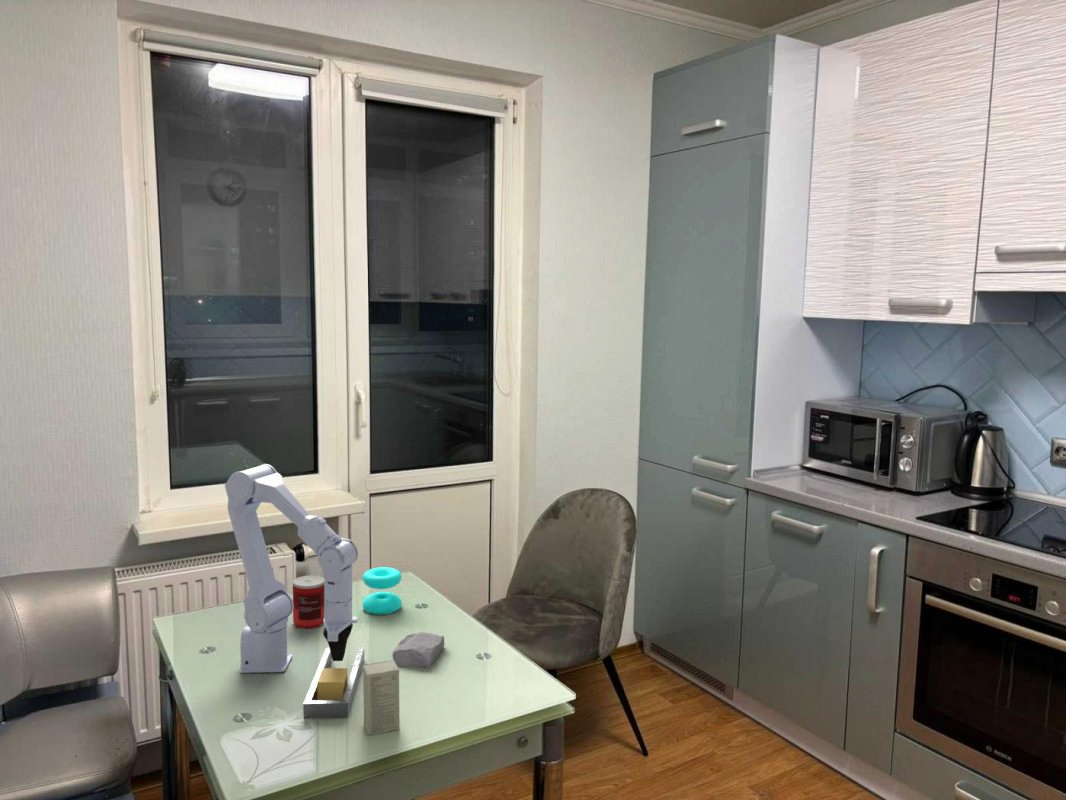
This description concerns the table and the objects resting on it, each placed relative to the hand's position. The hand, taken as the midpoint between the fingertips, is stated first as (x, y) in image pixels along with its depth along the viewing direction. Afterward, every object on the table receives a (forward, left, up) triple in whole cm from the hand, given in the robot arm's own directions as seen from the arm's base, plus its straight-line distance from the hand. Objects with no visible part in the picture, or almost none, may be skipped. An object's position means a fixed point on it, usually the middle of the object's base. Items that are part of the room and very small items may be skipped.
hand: (338, 659), depth 170 cm
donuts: (+5, +39, -5) cm, 40 cm away
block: (0, -8, -4) cm, 9 cm away
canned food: (-12, +30, -5) cm, 33 cm away
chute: (0, -3, -4) cm, 5 cm away
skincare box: (+11, -20, -5) cm, 23 cm away
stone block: (+16, +11, -5) cm, 20 cm away
